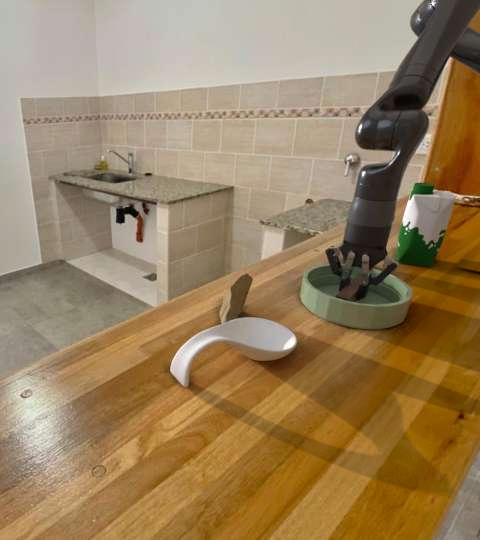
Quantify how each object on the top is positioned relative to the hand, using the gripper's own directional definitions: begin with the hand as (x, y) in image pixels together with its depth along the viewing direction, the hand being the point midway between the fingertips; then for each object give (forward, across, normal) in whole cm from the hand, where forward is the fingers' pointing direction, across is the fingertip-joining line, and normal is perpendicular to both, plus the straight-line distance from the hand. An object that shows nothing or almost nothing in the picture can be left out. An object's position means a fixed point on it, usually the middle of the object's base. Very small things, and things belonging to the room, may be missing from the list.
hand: (351, 296), depth 82 cm
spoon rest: (+2, -8, -34) cm, 35 cm away
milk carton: (+2, +4, +34) cm, 35 cm away
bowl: (+2, 0, -1) cm, 2 cm away
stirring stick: (0, 0, 0) cm, 0 cm away
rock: (+2, -16, -23) cm, 28 cm away
